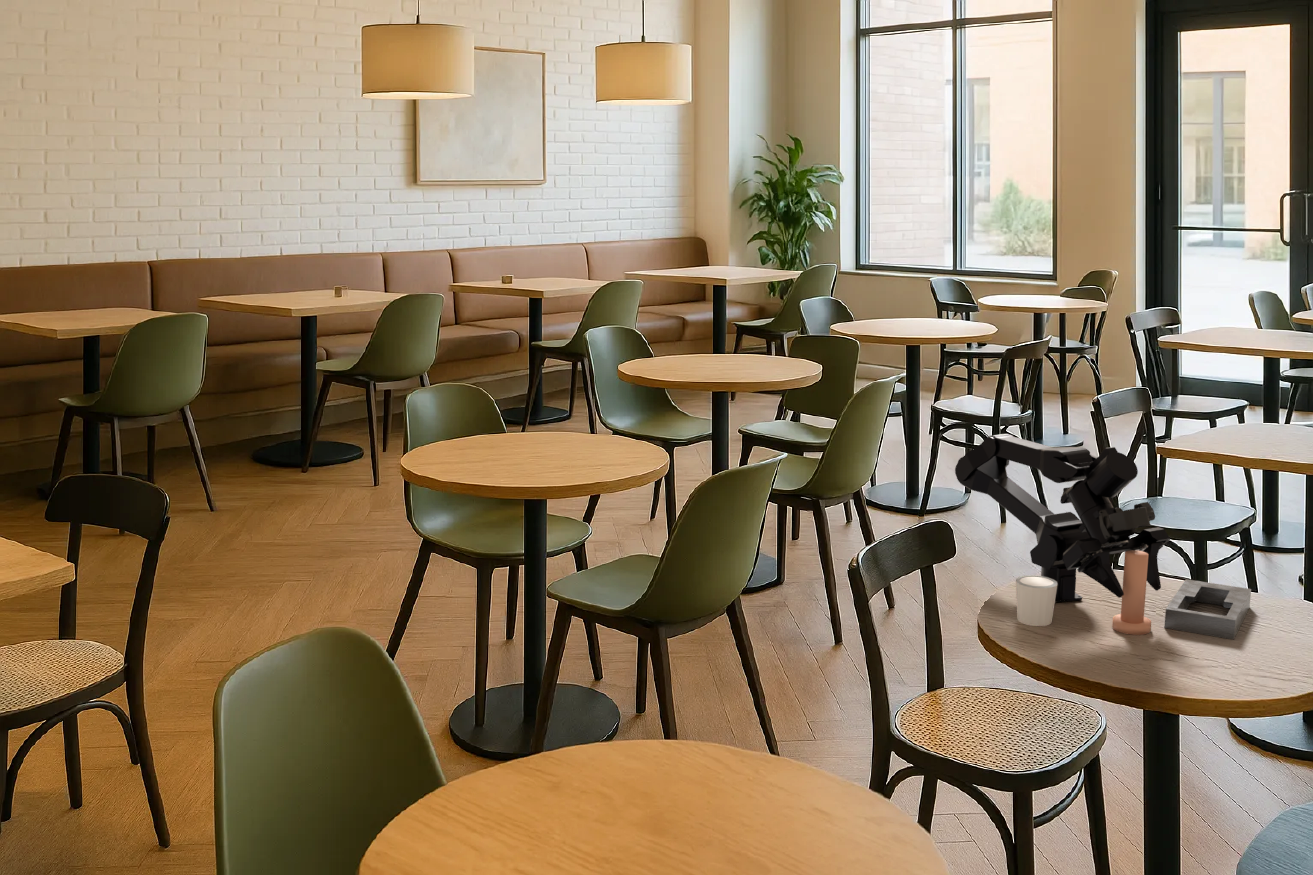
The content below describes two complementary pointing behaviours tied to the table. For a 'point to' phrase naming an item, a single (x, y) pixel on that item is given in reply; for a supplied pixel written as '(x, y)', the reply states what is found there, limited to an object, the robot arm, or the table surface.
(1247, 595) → the keyhole plate
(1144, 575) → the peg
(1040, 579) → the white cup
